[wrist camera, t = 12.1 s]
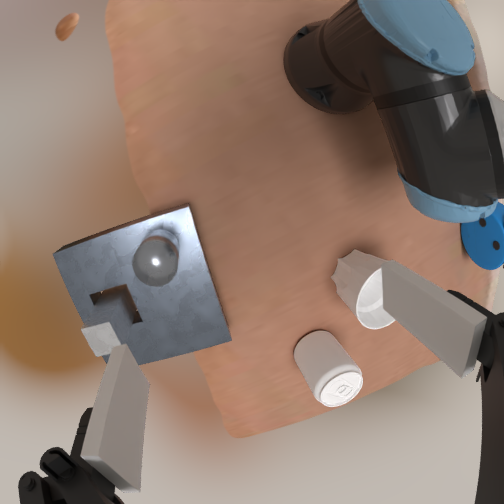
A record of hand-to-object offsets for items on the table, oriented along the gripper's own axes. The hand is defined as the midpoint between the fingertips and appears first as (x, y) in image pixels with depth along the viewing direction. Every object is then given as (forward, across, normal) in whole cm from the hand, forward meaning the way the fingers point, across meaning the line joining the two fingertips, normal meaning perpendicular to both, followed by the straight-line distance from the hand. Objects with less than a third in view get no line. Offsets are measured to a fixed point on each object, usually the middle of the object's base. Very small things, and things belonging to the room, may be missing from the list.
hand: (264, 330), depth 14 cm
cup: (+29, +19, -15) cm, 37 cm away
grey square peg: (+28, -17, -7) cm, 34 cm away
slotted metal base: (+28, -13, -7) cm, 32 cm away
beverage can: (+29, +10, -27) cm, 40 cm away
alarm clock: (+29, +50, -15) cm, 60 cm away
